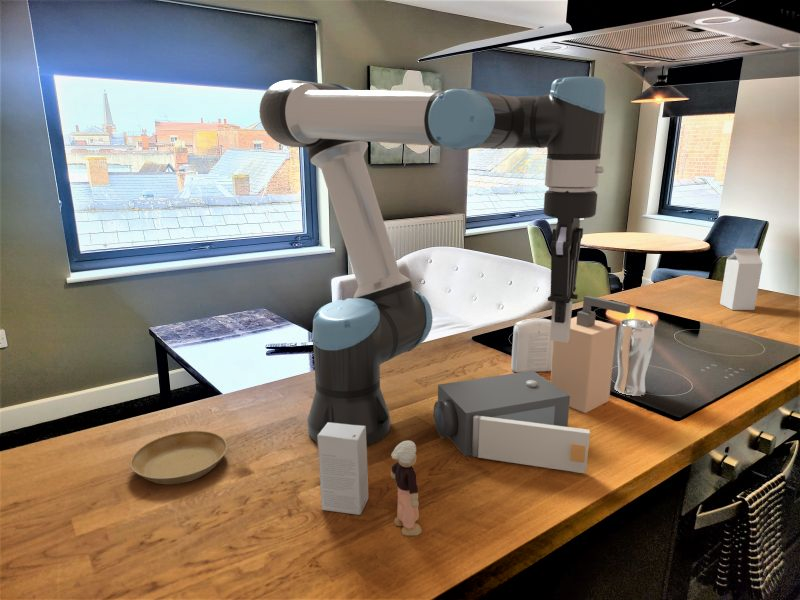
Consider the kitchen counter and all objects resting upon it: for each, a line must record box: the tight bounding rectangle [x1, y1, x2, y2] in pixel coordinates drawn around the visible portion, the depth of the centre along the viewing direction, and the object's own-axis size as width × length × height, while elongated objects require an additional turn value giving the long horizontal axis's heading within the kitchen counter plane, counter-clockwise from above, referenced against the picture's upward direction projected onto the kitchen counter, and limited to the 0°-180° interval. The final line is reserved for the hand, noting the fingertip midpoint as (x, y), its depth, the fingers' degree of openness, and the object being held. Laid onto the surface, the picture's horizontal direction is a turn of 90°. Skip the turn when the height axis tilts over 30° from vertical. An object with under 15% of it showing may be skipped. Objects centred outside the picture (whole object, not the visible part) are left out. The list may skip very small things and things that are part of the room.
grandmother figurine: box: [390, 440, 423, 537], centre depth 75 cm, size 8×4×13 cm, turn 35°
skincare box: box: [317, 422, 369, 516], centre depth 79 cm, size 6×4×12 cm
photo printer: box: [510, 317, 553, 373], centre depth 127 cm, size 10×4×12 cm, turn 98°
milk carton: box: [719, 248, 763, 311], centre depth 175 cm, size 7×7×19 cm
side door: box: [471, 416, 591, 474], centre depth 89 cm, size 18×2×7 cm, turn 74°
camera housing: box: [433, 371, 570, 457], centre depth 100 cm, size 22×12×9 cm, turn 109°
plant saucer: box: [130, 430, 228, 485], centre depth 91 cm, size 15×15×3 cm
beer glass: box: [614, 318, 656, 397], centre depth 116 cm, size 7×7×15 cm
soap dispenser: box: [550, 295, 631, 414], centre depth 109 cm, size 13×9×22 cm
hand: (559, 339), depth 88 cm, fingers closed
